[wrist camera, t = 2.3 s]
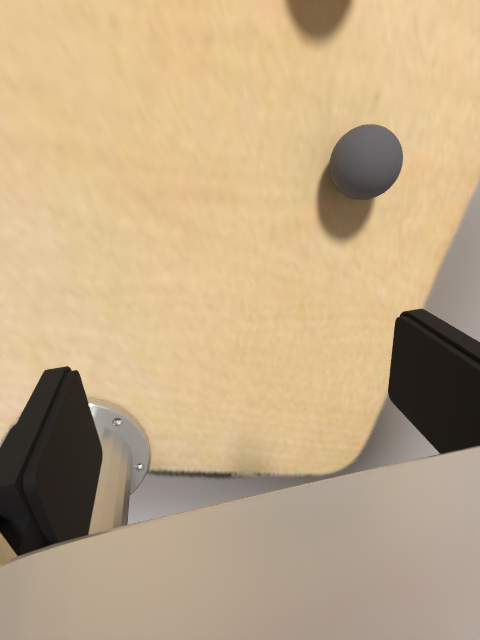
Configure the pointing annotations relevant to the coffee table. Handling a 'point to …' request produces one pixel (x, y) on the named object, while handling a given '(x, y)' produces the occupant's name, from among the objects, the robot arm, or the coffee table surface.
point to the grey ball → (366, 162)
